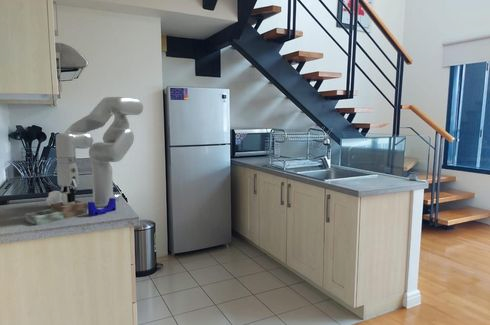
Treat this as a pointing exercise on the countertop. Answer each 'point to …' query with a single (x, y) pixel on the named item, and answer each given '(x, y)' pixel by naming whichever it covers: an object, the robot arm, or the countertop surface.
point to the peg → (64, 199)
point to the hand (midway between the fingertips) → (68, 200)
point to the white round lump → (54, 197)
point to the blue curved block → (94, 211)
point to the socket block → (56, 212)
